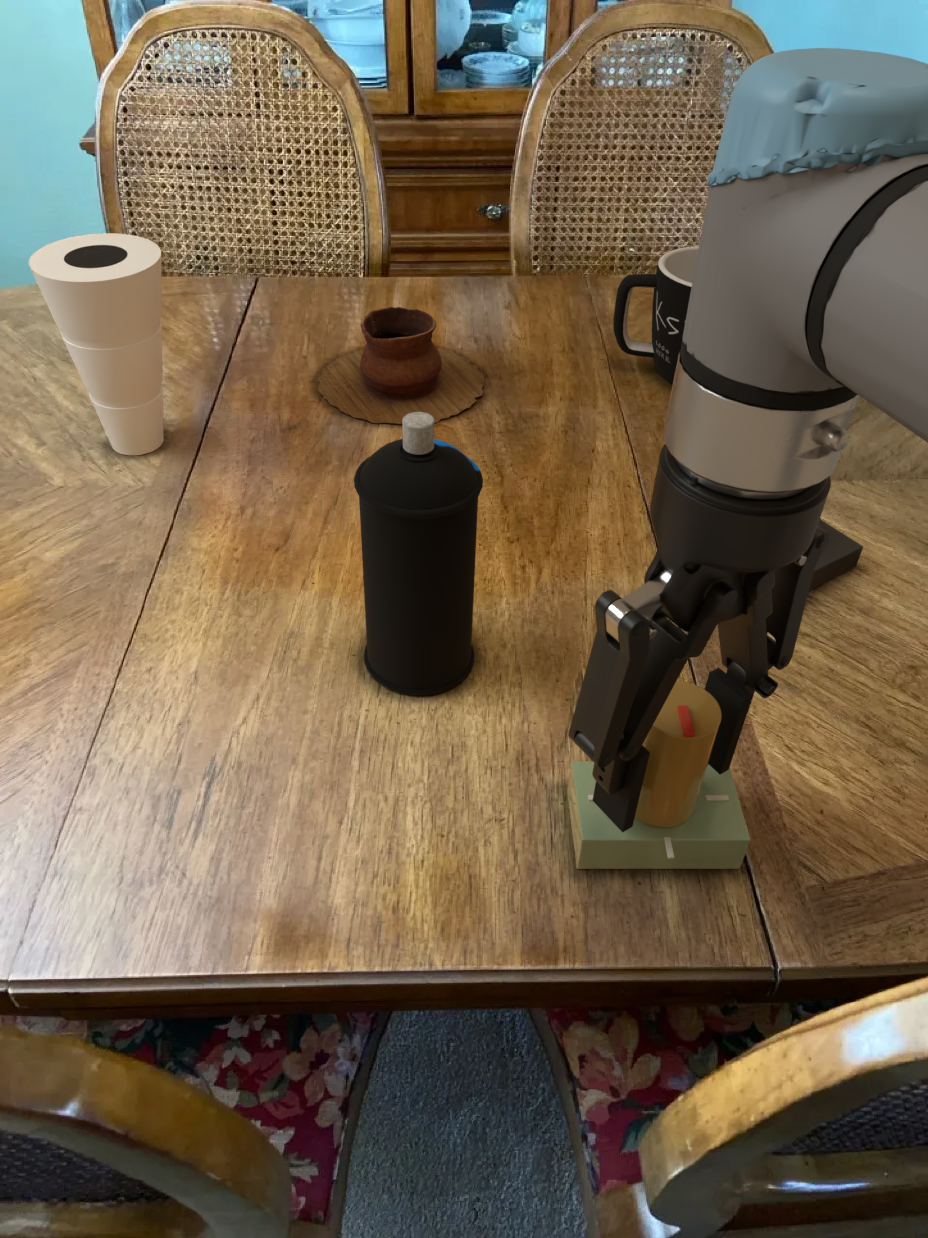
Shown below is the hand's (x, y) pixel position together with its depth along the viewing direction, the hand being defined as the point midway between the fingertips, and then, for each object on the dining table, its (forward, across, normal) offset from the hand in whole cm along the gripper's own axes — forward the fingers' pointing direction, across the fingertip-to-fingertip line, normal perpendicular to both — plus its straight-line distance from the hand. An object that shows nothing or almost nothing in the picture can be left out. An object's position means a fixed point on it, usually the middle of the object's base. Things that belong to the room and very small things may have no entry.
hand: (661, 784), depth 58 cm
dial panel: (+4, 0, 0) cm, 4 cm away
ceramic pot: (+5, +17, +58) cm, 61 cm away
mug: (+5, +46, +43) cm, 63 cm away
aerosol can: (+5, -4, +21) cm, 22 cm away
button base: (+4, +28, +16) cm, 33 cm away
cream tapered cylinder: (+5, -11, +61) cm, 62 cm away
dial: (+1, 0, 0) cm, 1 cm away
